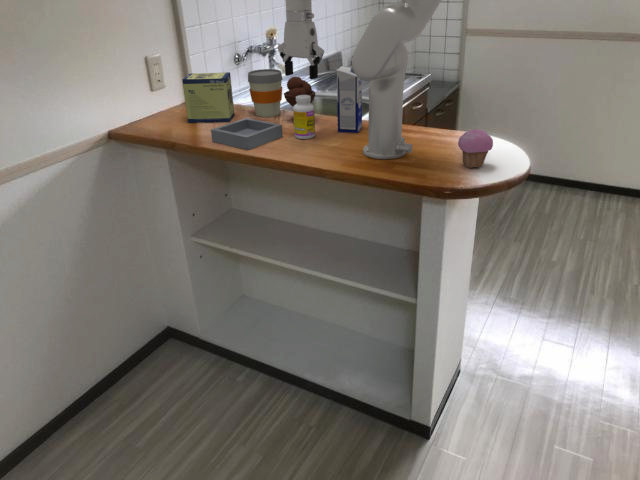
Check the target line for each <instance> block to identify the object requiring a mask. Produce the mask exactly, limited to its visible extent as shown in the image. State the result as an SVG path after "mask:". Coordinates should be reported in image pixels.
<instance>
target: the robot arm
mask: <svg viewBox="0 0 640 480" xmlns="http://www.w3.org/2000/svg"><path fill="white" fill-rule="evenodd" d="M442 1H443V0H400V1H399V2H397V3H391V4H388V5H386V6H384V7H382V8H380V9H379V10H378V11H377V12H376V13H375V14H374V15H373V16H372V18H371V20H370V22H369V23H368V25H367V27H366V29H365V30H364V32H363V34H362V36H361V38H360V39H359V41H358V43H357V45H356V47H355V49H354V51H353V54H352V58H351V68H353V71H354V73H355V74H356V76H357V77H358V78H360V79H362V81H366V82H369V89H368V130H367V131H368V136H367V137H368V143H367V144H366V145H364V147H363V149H362V153H363V155H364V156H366V157H369V158H372V159H376V160H377V159H378V160H390V159H398V158H402V157H403V156H405V155H406V153H407V154H408V153H409V154H411V153H412V151H413V144H412V143H407V142H406V140H405V139H406V137H402V132H403V129H402V128H403V109H404V108H403V105H404V104H403V103H404V90H405V77H406V72H407V67H408V64H409V63H408V62H409V61H408V60H409V54H408V50H407V47H406V46H405V44H406V43H409V42H413V41H414V40H416V39H418V38H419V37H420V36H421V34H422V33H423V32H424V30H425V28H426V27H427V25H428V23H429V22H430V20H431V19H432V17H433V15H434V14H435V12H436V11H437V9H438V7H439V5H440V4H441V2H442ZM312 9H313V5H312V0H285V17H286V21H285V22H284V30H283V31H284V32H283V42H282V43H281V44H279V45H277V50H278V52H279V56H280V57H281V59H282V62H283V63H284V72H285V73H284V74H285V76H287V77H289V76H292V75H294V62H293V58H299V59H307V61H308V63H309V64H310V65H309V67H308V69H309V70H308V71H309V80H315V79H317V78H318V77H319V76H318V75H319V70H318V69H319V68H318V65H319V64H320V62H321V61H322V60H323V57H324V53H325V50H324V49H323V48H322V47H320V46H319V44H318V43H319V42H318V41H319V40H318V35H317V33H318V32H317V27H316V24H315V21H313V19H314V18H315V13H312V12H313V11H312Z"/></svg>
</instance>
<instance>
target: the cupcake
mask: <svg viewBox="0 0 640 480" xmlns="http://www.w3.org/2000/svg"><path fill="white" fill-rule="evenodd" d="M457 145H458V146H457V147H459V149H460V150H461V152H462V157H461V159H462V164H463V165H464V166H465V167H466V166H467V168H468V169H472V168H482V167H483V165H484V164H485V162H486V161H485V160H486V157H487V155H488V153H489V151H491V150H492V149H493V147H494V139H493V138H492V137H491V135H489V134H488V133H487V131H485V130H483V129H480V128H479V129H477V128H475V129H470V130H467V131H465V132H464V133H463V134H462V135H461V136H459V138H458V142H457Z"/></svg>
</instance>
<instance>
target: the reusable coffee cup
mask: <svg viewBox="0 0 640 480" xmlns="http://www.w3.org/2000/svg"><path fill="white" fill-rule="evenodd" d="M282 81H283V75H282V71H281V70H280V69H273V68H268V69H267V68H264V69H255V70H250V71H249V72H247V82H248V85H249V94H250V98H251V102H252V104H253V108H254V112H255V115H256V117H261V118H263V117H264V118H270V117H271V118H272V117H275V116H279V115H280V114H281V113H280V112H281V101H282V99H283V98H282V97H283V86H282Z"/></svg>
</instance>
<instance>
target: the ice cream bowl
mask: <svg viewBox="0 0 640 480" xmlns="http://www.w3.org/2000/svg"><path fill="white" fill-rule="evenodd" d="M286 88H287V91H286V92H284V93H283V97H284V99H285V101H286V102H287V103H288V104H289V105H290V107H291V106H292V107H294V105H296V104H297V102H296V96H299V95H309V96H311V100H310V104H312V103H313V102H314V100H315V97H316V94H317V93H316V92H315V91H314V90H313V88H312V85H311V84H310V83H309V82H308V81H306V80H304V79H302V78H301V77H300V76H291V77H290V78H289V79H288V80H287V82H286ZM292 121H294V118H293V119H292Z"/></svg>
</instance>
